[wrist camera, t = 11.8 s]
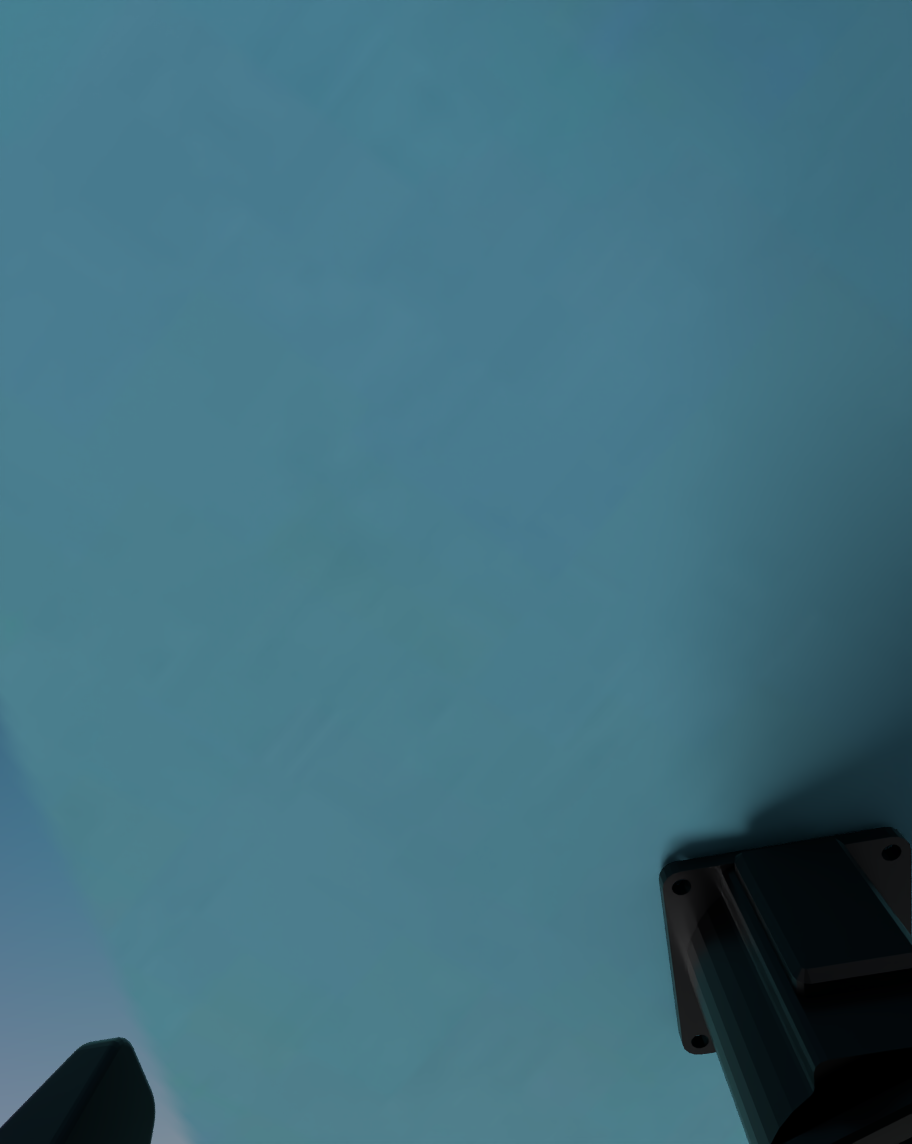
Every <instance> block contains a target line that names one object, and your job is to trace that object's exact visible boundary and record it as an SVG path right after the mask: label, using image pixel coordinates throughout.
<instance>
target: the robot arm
mask: <svg viewBox="0 0 912 1144" xmlns="http://www.w3.org/2000/svg"><path fill="white" fill-rule="evenodd" d="M889 845H892V846H891V847H890V848H889V849H887V850H885V851H883V849H884V848H885V847H886V846H889ZM680 879H685V881H684V882H683V883H681V884H679V885H676V884H674V883H675V882H676V881H678V880H680ZM659 884H660V892H661V900H662V907H663V915H664V923H665V930H666V938H667V946H668V953H669V961H670V969H671V976H672V984H673V992H674V999H675V1007H676V1015H677V1022H678V1030H679V1034H680V1038H681V1041H682V1044H683V1046H684V1049H685V1050H686V1051H688V1052H689V1053H692V1054H707V1053H714V1052H716V1053H717V1056H718V1058H719V1061H720V1064H721V1067H722V1069H723V1072H724V1075H725V1078H726V1081H727V1083H728V1086H729V1089H730V1092H731V1094H732V1097H733V1100H734V1103H735V1106H736V1108H737V1111H738V1114H739V1117H740V1119H741V1122H742V1125H743V1128H744V1130H745V1133H746V1136H747V1139H748V1142H749V1144H912V936H911V848H910V844H909V843H908V841H907V840H906V839H905V838H904V837H903V836H902V834H901V833H900V832H899V831H898V830H897V829H894V828H891V827H882V828H876V829H870V830H864V831H858V832H852V833H846V834H840V835H834V836H828V837H822V838H816V839H810V840H804V841H798V842H792V843H786V844H780V845H774V846H768V847H762V848H756V849H749V850H743V851H737V852H731V853H725V854H719V855H713V856H707V857H701V858H695V859H689V860H683V861H677V862H673V863H670V864H668V865H667V866H665V867H664V868H663V869H662V871H661V872H660V875H659ZM697 1035H698V1036H697ZM154 1121H155V1102H154V1097H153V1093H152V1091H151V1088H150V1086H149V1084H148V1081H147V1079H146V1077H145V1074H144V1072H143V1070H142V1067H141V1065H140V1063H139V1060H138V1058H137V1056H136V1053H135V1051H134V1048H133V1047H132V1045H131V1043H130V1042H129V1041H128V1040H126V1039H125V1038H120V1037H118V1038H112V1039H107V1040H100V1041H93V1042H89V1043H86V1044H84V1045H82V1046H81V1047H79V1048H78V1049H77V1050H76V1051H75V1052H74V1053H73V1054H72V1055H71V1056H70V1057H69V1058H68V1059H67V1060H66V1061H65V1062H64V1063H63V1064H62V1065H61V1066H60V1067H59V1068H58V1069H57V1070H56V1071H55V1072H54V1073H53V1074H52V1075H51V1076H50V1078H48V1079H47V1080H46V1081H45V1083H44V1084H43V1085H42V1086H41V1087H40V1088H39V1089H38V1090H37V1091H36V1092H35V1093H34V1094H33V1095H32V1096H31V1097H30V1098H29V1099H28V1100H27V1101H26V1102H25V1103H24V1104H23V1105H22V1106H21V1107H20V1108H19V1109H18V1110H17V1111H16V1112H15V1113H14V1114H13V1115H12V1116H11V1117H10V1118H9V1120H8V1121H7V1122H5V1124H4V1125H3V1126H2V1127H1V1128H0V1144H151V1139H152V1133H153V1128H154Z"/></svg>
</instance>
